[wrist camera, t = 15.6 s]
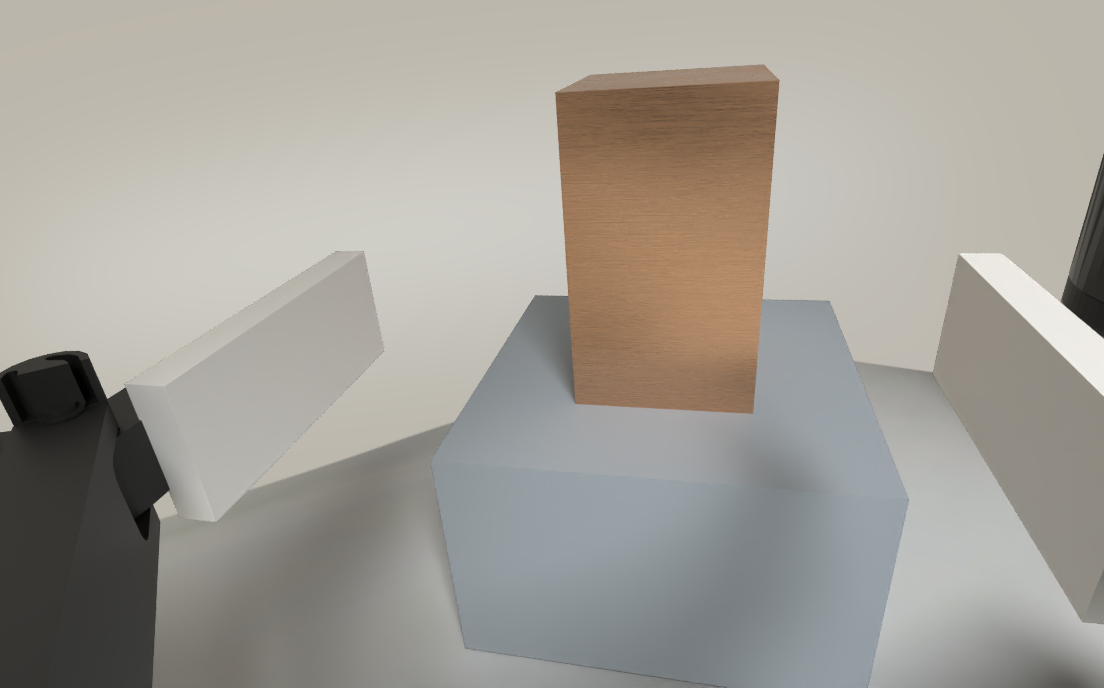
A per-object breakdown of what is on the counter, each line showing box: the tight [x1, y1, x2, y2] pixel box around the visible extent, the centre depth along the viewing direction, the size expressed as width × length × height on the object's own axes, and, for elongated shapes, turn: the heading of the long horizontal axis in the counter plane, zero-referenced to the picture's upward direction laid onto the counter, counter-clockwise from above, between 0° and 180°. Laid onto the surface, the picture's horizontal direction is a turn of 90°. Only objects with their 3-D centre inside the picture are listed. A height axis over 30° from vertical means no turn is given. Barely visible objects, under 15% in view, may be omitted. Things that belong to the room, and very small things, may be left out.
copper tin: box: [555, 65, 779, 414], centre depth 26 cm, size 7×7×12 cm
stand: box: [430, 295, 909, 688], centre depth 31 cm, size 16×16×10 cm
